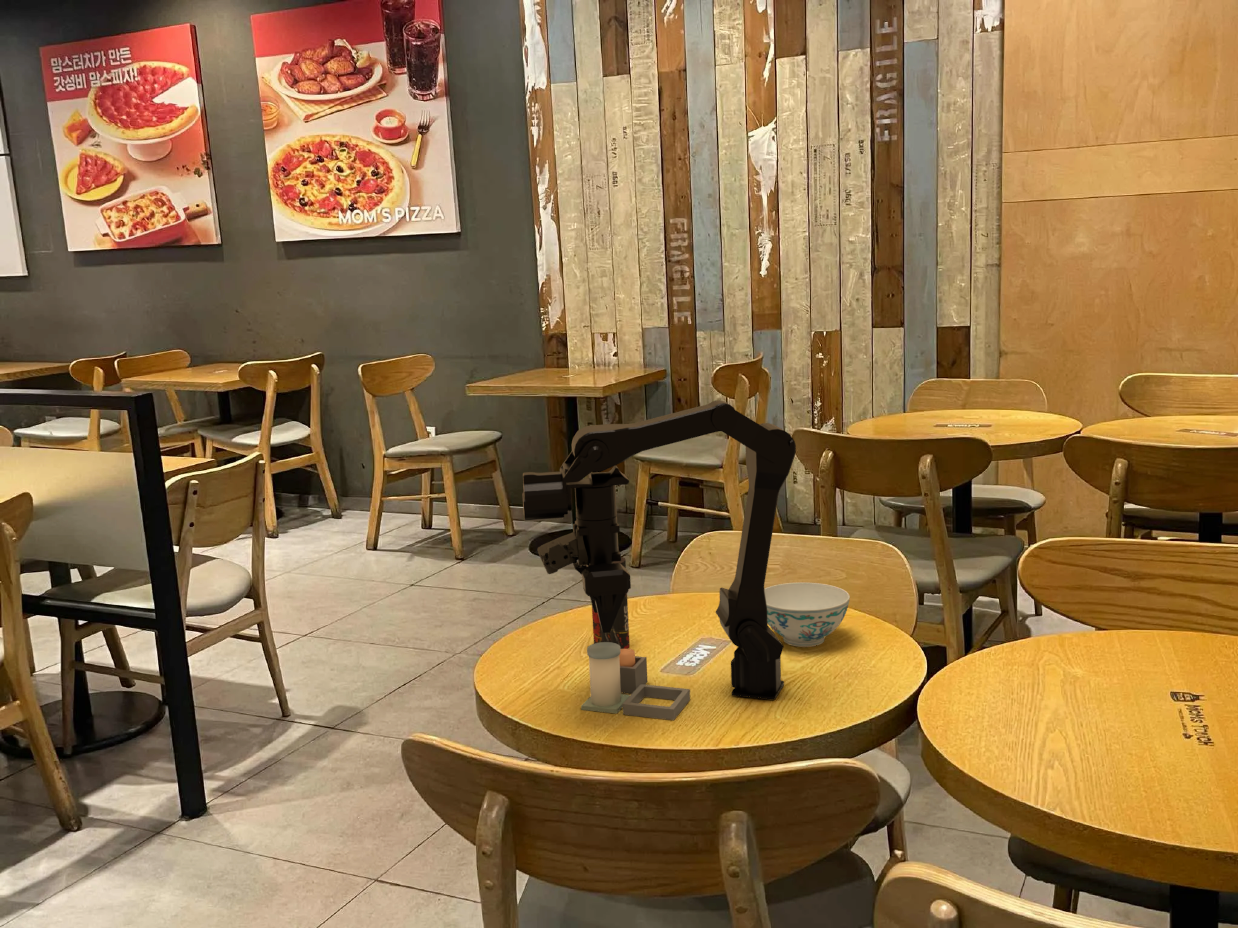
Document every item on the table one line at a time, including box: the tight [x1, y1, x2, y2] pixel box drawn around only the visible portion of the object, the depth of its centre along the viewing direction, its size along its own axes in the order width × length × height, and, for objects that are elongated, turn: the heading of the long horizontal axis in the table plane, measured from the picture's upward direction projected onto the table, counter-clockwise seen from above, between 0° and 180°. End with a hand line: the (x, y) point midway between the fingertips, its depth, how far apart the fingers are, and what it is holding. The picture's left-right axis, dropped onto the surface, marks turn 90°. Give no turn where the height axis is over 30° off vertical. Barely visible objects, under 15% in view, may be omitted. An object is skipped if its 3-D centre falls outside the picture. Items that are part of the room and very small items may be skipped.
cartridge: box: [586, 642, 622, 706], centre depth 159 cm, size 5×5×8 cm
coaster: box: [580, 693, 631, 714], centre depth 160 cm, size 6×6×1 cm
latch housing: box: [620, 655, 649, 695], centre depth 166 cm, size 5×5×4 cm
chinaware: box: [764, 581, 851, 648], centre depth 182 cm, size 15×15×8 cm
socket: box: [622, 684, 691, 721], centre depth 158 cm, size 8×8×2 cm
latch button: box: [619, 648, 636, 667], centre depth 166 cm, size 3×3×4 cm
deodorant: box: [591, 556, 631, 649], centre depth 182 cm, size 6×6×15 cm
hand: (601, 622), depth 158 cm, fingers open, 9 cm apart
